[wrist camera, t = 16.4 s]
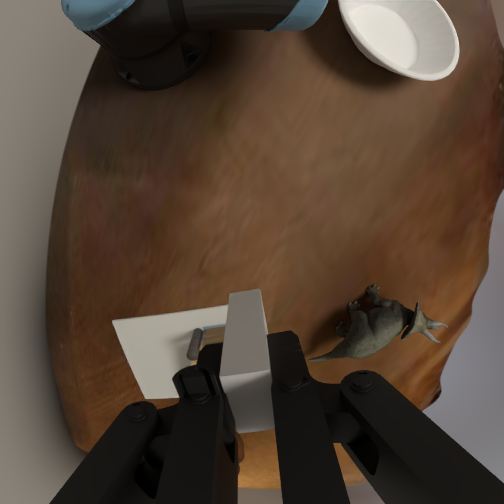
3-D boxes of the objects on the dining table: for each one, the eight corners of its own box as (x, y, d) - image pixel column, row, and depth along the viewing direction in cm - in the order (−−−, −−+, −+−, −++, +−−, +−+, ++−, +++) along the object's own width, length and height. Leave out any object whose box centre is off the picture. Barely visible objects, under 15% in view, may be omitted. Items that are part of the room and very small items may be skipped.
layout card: (112, 319, 47) (105, 328, 44) (254, 299, 46) (255, 309, 43) (146, 397, 51) (141, 408, 48) (271, 386, 51) (272, 398, 47)
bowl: (370, 109, 39) (394, 98, 31) (299, 5, 34) (308, -21, 26) (452, 75, 37) (478, 65, 29) (390, -16, 32) (408, -36, 24)
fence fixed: (192, 327, 47) (185, 352, 40) (260, 317, 47) (263, 341, 40) (195, 335, 48) (188, 361, 40) (262, 325, 47) (264, 351, 40)
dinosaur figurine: (305, 353, 49) (318, 395, 38) (292, 313, 47) (304, 351, 36) (416, 309, 48) (448, 338, 37) (411, 268, 46) (447, 291, 35)
